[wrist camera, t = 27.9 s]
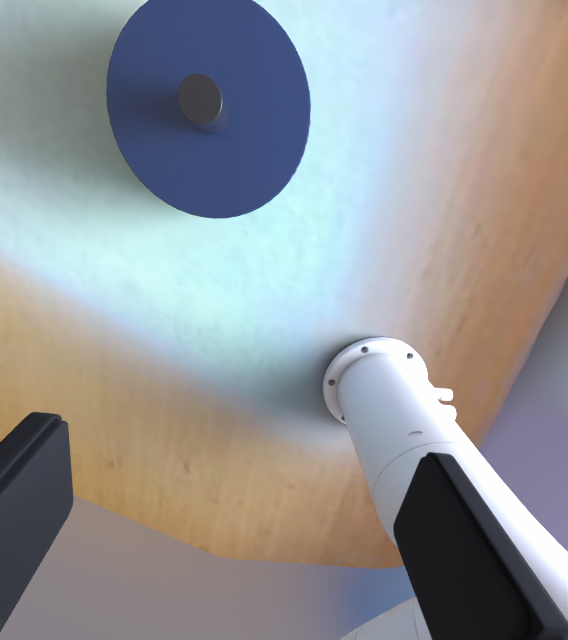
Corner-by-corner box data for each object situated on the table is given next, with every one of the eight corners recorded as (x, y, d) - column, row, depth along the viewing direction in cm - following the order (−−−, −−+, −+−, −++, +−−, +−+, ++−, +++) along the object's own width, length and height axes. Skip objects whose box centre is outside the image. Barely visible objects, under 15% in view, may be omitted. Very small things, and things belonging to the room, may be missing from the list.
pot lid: (328, 21, 24) (346, -25, 18) (290, 231, 29) (296, 242, 23) (112, -34, 22) (63, -103, 17) (113, 199, 27) (76, 203, 22)
